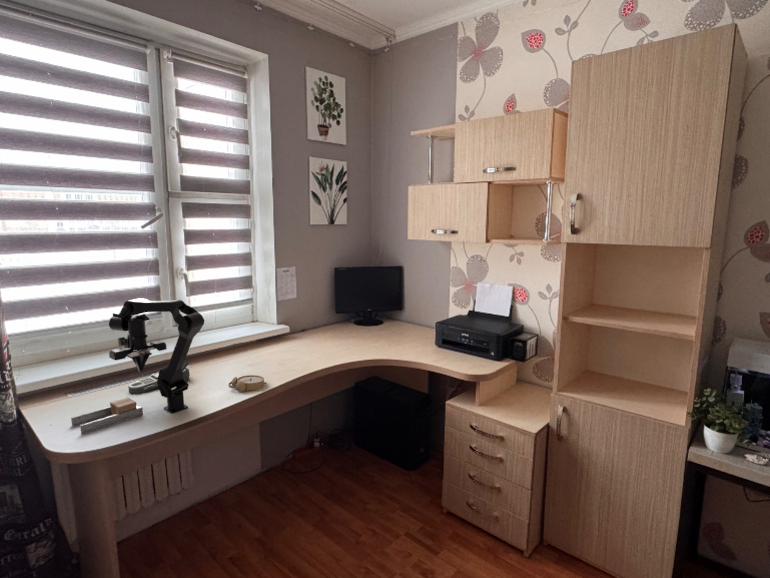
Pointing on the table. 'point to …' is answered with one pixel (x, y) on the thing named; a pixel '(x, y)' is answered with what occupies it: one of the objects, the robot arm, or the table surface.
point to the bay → (104, 421)
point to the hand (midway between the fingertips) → (140, 371)
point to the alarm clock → (247, 383)
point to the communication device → (152, 382)
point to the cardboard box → (122, 405)
